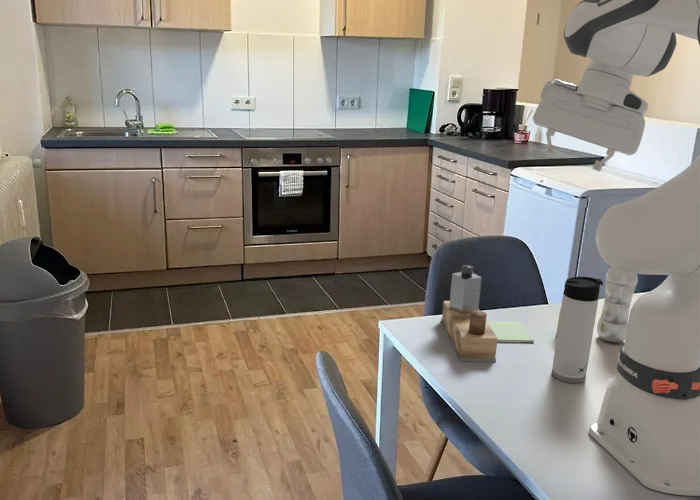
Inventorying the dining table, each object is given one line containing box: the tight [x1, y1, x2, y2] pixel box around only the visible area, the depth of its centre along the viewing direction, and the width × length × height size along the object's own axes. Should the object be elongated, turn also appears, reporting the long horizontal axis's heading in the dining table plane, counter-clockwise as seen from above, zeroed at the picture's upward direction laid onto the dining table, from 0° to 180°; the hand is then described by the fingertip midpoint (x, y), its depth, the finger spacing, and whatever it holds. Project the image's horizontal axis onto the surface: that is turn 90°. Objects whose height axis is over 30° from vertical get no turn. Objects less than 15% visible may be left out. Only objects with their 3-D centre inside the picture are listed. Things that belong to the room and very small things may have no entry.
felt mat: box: [486, 320, 535, 344], centre depth 142 cm, size 10×10×1 cm
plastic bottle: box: [596, 267, 639, 344], centre depth 137 cm, size 6×7×20 cm
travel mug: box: [551, 276, 604, 384], centre depth 120 cm, size 6×7×20 cm
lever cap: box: [449, 264, 483, 315], centre depth 139 cm, size 4×4×10 cm
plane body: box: [440, 300, 498, 363], centre depth 136 cm, size 21×7×9 cm, turn 3°
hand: (571, 162), depth 123 cm, fingers open, 8 cm apart
